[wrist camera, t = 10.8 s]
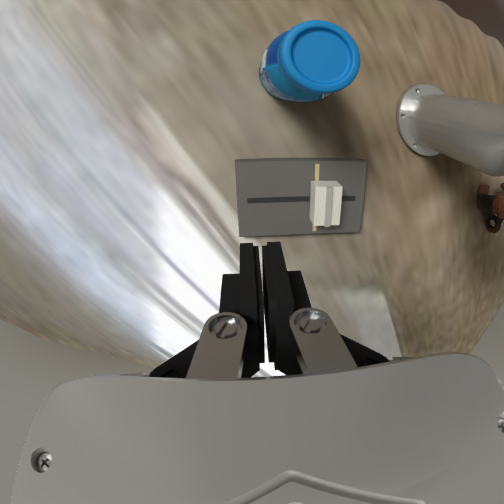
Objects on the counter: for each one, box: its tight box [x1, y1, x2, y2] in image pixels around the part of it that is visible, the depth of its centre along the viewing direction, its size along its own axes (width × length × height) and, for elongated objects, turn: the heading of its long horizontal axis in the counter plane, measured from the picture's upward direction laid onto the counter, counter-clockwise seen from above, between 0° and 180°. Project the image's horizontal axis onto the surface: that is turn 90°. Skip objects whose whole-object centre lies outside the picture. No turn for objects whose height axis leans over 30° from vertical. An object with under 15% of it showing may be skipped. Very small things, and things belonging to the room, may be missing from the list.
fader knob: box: [309, 181, 343, 227], centre depth 42 cm, size 4×6×4 cm, turn 2°
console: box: [235, 158, 367, 237], centre depth 44 cm, size 20×12×2 cm, turn 92°
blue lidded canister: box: [259, 20, 360, 102], centre depth 27 cm, size 8×8×20 cm
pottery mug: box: [477, 183, 504, 233], centre depth 43 cm, size 12×9×8 cm
